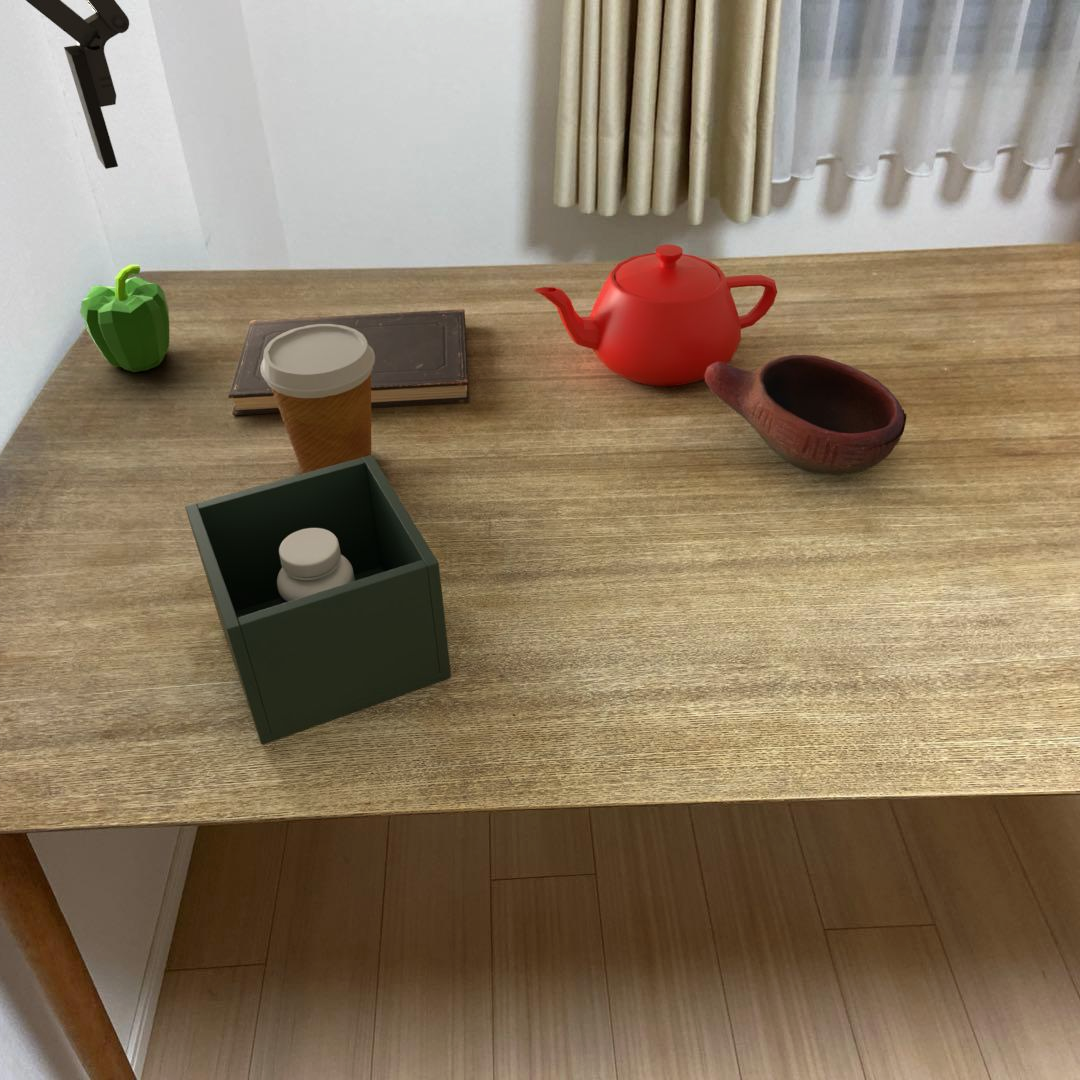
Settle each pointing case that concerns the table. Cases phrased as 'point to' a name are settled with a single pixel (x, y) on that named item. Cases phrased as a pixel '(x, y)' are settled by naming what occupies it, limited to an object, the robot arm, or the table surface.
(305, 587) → the pill bottle
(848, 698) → the table surface
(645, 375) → the teapot
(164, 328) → the bell pepper
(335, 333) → the disposable coffee cup
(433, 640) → the waste bin
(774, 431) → the bowl
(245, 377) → the hardcover book
